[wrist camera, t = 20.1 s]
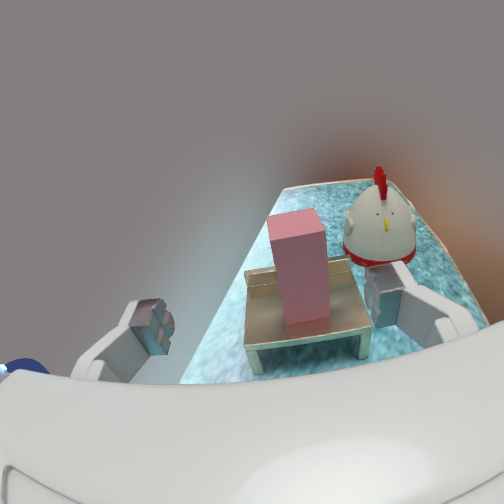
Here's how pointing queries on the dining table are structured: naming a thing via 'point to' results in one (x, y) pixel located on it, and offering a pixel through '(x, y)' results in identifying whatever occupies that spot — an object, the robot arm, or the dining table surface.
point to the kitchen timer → (379, 226)
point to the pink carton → (300, 264)
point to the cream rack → (281, 335)
